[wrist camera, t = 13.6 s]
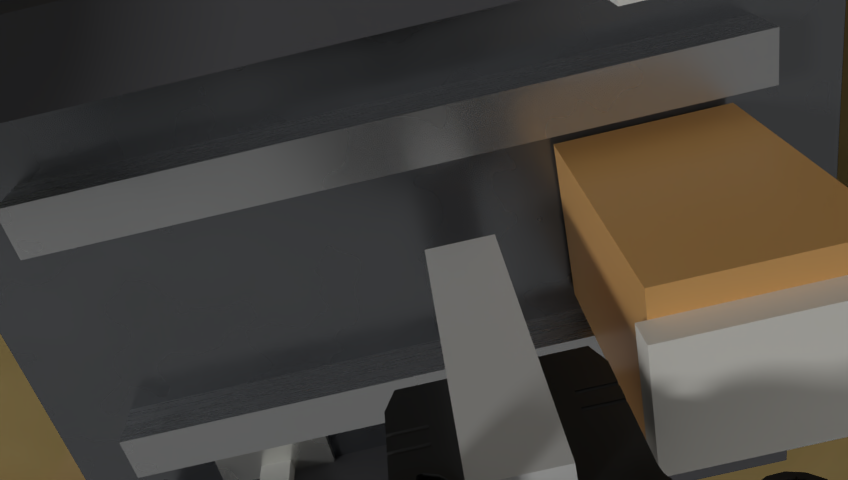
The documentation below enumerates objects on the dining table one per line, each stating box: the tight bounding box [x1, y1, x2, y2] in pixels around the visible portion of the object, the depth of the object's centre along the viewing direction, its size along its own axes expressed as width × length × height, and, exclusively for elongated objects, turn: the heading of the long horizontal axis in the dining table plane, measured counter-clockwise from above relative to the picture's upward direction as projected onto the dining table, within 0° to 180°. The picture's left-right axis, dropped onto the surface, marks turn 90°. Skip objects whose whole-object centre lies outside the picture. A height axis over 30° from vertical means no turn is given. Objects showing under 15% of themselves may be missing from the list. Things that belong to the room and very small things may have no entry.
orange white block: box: [554, 103, 848, 476], centre depth 15 cm, size 4×4×7 cm
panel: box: [0, 0, 846, 480], centre depth 19 cm, size 16×20×3 cm
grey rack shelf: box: [0, 0, 787, 480], centre depth 17 cm, size 16×16×2 cm
